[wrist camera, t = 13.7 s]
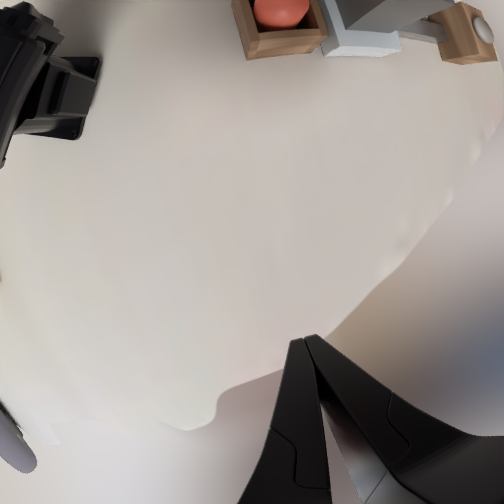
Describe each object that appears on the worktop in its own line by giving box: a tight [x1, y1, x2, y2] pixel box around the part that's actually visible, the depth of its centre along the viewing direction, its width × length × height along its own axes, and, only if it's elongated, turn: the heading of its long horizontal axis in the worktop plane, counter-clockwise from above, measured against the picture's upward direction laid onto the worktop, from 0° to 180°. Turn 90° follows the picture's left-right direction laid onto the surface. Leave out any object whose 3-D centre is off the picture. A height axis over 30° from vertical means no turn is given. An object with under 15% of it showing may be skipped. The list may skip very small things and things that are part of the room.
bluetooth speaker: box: [0, 409, 37, 473], centre depth 28 cm, size 23×9×10 cm, turn 168°
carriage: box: [317, 0, 455, 57], centre depth 10 cm, size 5×6×10 cm
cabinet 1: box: [428, 2, 498, 65], centre depth 12 cm, size 3×5×6 cm, turn 12°
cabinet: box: [232, 0, 329, 60], centre depth 13 cm, size 5×5×4 cm
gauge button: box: [252, 0, 310, 33], centre depth 12 cm, size 3×3×4 cm
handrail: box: [320, 7, 448, 44], centre depth 14 cm, size 13×2×2 cm, turn 102°
